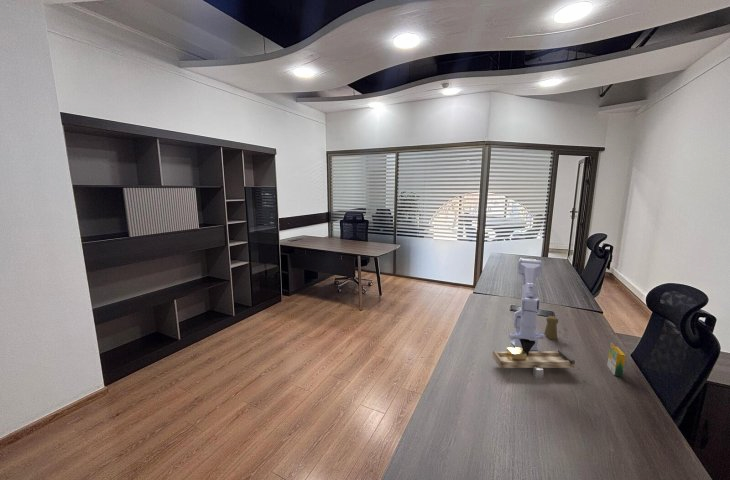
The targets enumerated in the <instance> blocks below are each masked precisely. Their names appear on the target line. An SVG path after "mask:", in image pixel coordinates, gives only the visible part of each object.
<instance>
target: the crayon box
mask: <svg viewBox="0 0 730 480" xmlns="http://www.w3.org/2000/svg"><path fill="white" fill-rule="evenodd" d="M609 346H610V347H609V351H608V352H609V353H608V357H607V358H608V359H607V365H606V367H607V368H608V369H609V371H610V372H611V373H612V374H613V376H616V377H620V378H621V377H623V374H624V369H625V363H626V357H627V356H626V354H625V353H624V352H623V351H622V350H621V349H620V348H619V347H618V346H615V345H614V343H613V342H612V341H611V342H610V345H609Z"/></svg>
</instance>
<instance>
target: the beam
mask: <svg viewBox="0 0 730 480" xmlns="http://www.w3.org/2000/svg"><path fill="white" fill-rule="evenodd" d="M506 354H507V351H496V350H492V356H491V357H492V359H493V360H494V361H495V363H496V364H497V366H498V367H499V368H500V369H534V367H542V368H543V369H545V368H546V369H547V368H548V369H549V368H550V369H551V368H553V369H555V368H557V369H559V368H563V369H566V368H575V363H576V360H575V359H574V358H573V357H572V356H570V355H569V354H568V353H567V352H565V350H564V349H558V350H557V351H555V350H554V351H549V350H547V351H545V350H544V351H543V350H542V351H538V350H537V351H529V353H528V355H526V361H510V360H509V358H508V357H507V356H506Z"/></svg>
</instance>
